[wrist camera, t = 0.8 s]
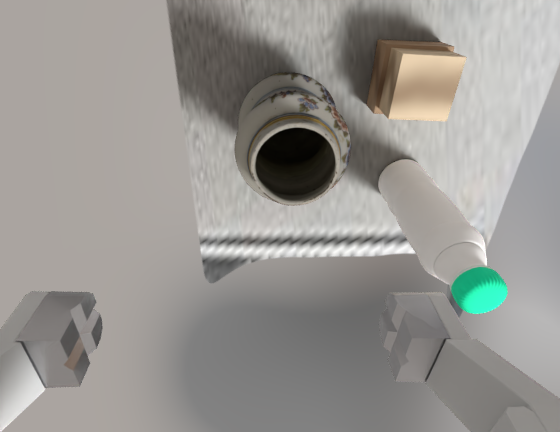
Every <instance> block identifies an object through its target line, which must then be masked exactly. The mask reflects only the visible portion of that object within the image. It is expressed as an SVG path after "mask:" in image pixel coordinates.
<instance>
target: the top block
mask: <svg viewBox="0 0 560 432" xmlns="http://www.w3.org/2000/svg"><path fill="white" fill-rule="evenodd" d="M466 58H467V57H465V56H462V55H459V54H457V53H454V52H452V51H442V50H424V49H406V48H391V52H390V57H389V62H388V67H387V72H386V76H385V81H384V86H383V91H382V96H381V101H380V106H379V109H380V110H381V111H382V112H383V114H384V115H385V116H386V117H387V118H388V119H403V120H427V121H447V118H448V115H449V112H450V109H451V105H452V102H453V99H454V96H455V93H456V90H457V86H458V83H459V80H460V77H461V74H462V70H463V67H464V64H465V61H466Z"/></svg>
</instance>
